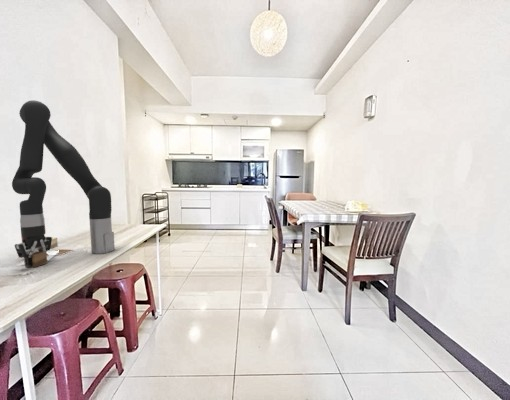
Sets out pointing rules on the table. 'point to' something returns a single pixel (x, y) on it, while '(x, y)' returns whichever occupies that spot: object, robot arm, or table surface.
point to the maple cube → (54, 243)
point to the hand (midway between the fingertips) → (36, 263)
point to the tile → (63, 251)
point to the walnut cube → (38, 259)
